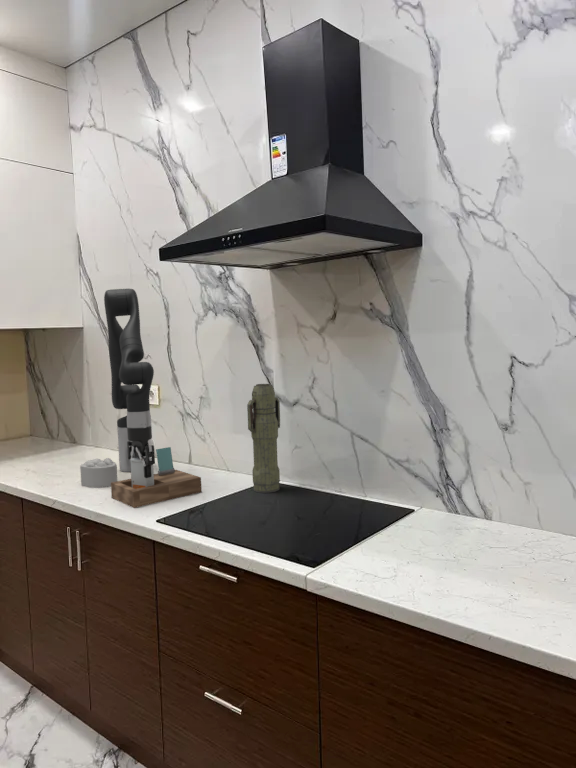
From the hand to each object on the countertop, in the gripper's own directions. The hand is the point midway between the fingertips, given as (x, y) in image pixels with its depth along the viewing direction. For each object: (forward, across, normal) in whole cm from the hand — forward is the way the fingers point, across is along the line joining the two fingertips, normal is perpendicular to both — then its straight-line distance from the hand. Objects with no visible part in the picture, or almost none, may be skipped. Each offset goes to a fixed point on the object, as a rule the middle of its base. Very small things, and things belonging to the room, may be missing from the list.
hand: (141, 475), depth 186 cm
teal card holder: (-2, -4, +11) cm, 12 cm away
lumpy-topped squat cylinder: (+8, -28, -2) cm, 29 cm away
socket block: (+8, 0, +5) cm, 9 cm away
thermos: (+8, +21, +34) cm, 41 cm away
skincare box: (+7, 0, 0) cm, 7 cm away
